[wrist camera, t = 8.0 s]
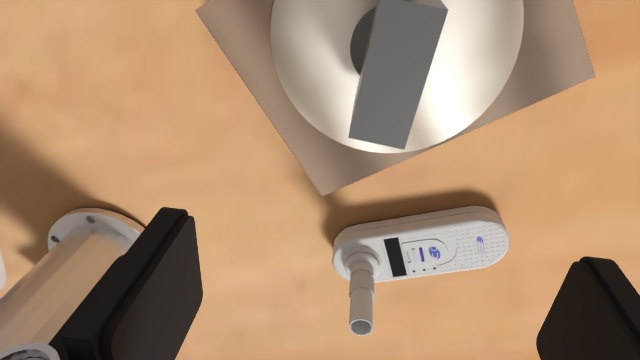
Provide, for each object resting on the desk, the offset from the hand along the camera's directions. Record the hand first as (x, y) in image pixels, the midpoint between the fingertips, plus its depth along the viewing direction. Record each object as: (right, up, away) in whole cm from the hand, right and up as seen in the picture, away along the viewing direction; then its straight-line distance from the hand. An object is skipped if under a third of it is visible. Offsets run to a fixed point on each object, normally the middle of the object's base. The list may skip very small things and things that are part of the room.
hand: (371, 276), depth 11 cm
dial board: (+4, +13, +19) cm, 23 cm away
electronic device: (+7, -3, +28) cm, 29 cm away
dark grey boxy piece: (+3, +12, +15) cm, 20 cm away
